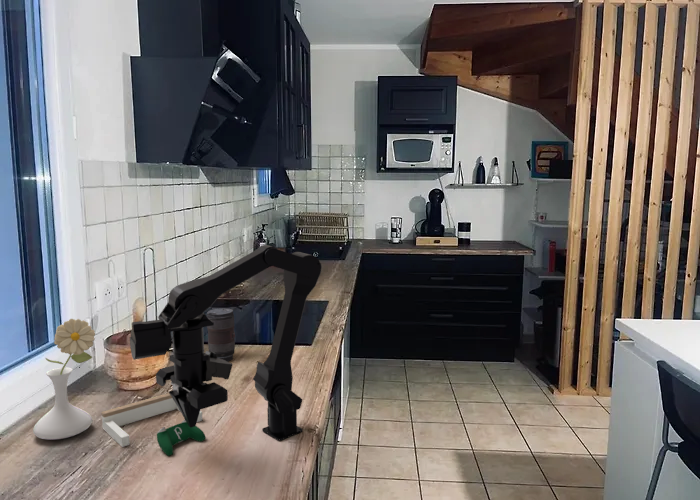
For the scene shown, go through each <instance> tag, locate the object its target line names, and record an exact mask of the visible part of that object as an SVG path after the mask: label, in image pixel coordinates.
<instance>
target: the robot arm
mask: <svg viewBox="0 0 700 500" xmlns="http://www.w3.org/2000/svg"><path fill="white" fill-rule="evenodd" d="M271 267H274V268H277V269H281V270H283V277H282V278H283V285H284V296H283V300H282V304H281V308H280V312H279V315H278V320H277V322H276V323H277V324H276V327H275V328H276V329H275V331H274V332H275V333H274V335H273V339H272V343H271V348H270V352H269V355H268V357H267V358H266V359H265V360H264V361H263V362H260V361H257V364H256V371H255V374H254V377H253V378H252V381H254V388H255V390H256V391H257V393H258V394H260V395H261V397H262V398H263V399H264V400H265V402H266V401H267V408H266V409H267V426H265V427H263V428H262V430H261V432H263V433H265V434H267V435H268V436H270V437H272V438H273V439H275V440H277V441H283V440H285V439H287V438H290V437H292V436H296V435H297V434H300V433H302V432H303V431H304V430H303V428H302V427H300V426H298V423H297V421H298V418H297V417H298V414H297V410H300V409H301V407H302V403H303V399H302V398H301V397H300V396H299V395H298V394H296V393H295V392H294V391H293V390H292V389H293V379H294V378H293V369H292V358H293V353H294V351H295V345H296V342H297V339H298V338H297V337H298V334H299V330H300V325H301V323H302V318H303V315H304V314H303V313H304V310H305V306H306V302H307V298H308V296H309V295H310V294H311V292H312V291H313V290H314V289H315V287H316V286H317V283H318V281H319V278H320V276H321V273H322V269H323V268H322V263H321V262H320V259H318V257H317V256H315V255H312V254H309V253H304V252H301V251H295V252H292V253H290V252H286V251H284V250H280V249H279V248H276V247H274V246H272V245H267V244H263V245H262V244H261V246H259V247H258V248H257V249H255V250H253V251H251V252H250V253H249V254H246V255H244V256H243V257H241V258H239V259H237V260H235V261H233V262H231V263H230V264H228V265H226V266H225V267H223V268H221V269H219V270H217V271H215V272H213V273H212V274H210V275H208V276H205V277H201V278H196V279H192V280H190V281H186V282H184V283H180V284H177V285H175V286H174V287H173V288H172V289H171V290H170V291H169V295H168V297H167V298H168V300H167V301H168V302H167V303H166V305H165V306H164V308H162V311H160V314H159V315H158V317H157V318H158V319H154V320H147V321H142V320H141V321H132V322H131V329H130V337H129V346H130V353H131V357H132V359H133V360H140V359H147V358H152V357H158V356H165V355H166V354H167V352H170V349H171V348H172V349H173V350H172V354H169V361H170V362H172V363H173V365H170V366H166V367H161V368H159V369H158V370H157V372H156V374H155V382H156V384H157V385H159V386H161V387H164V386H165V385H166V384H167V381H171V382H170V385H172V390H170V391H169V392H168V393H169V394H170V395H171V396H172V398H173V400H174V401H175V403H176V405H177V406H178V408H179V410H180V411H181V412H180V411H179V410H178V411H179V412H180V414H181V415H182V416H183V420H186V422H187V424H188V426H189V427H191V428H192V427H195V426H197V423H198V422H197V419H198V416H199V413H200V411H201V410H204V409H207V408H210V407H213V406H216V405H219V404H220V405H221V404H222V403H223V404H224V403H226V402H228V400H229V399H228V389H226V388H225V387H224V386H222V385H220V384H219V383H217V382H215V381H214V382H211V381H213V378H218V379H219V378H220V379H223V380H229V379H230V375H231V373H232V367H233V363H231V362H230V361H225V360H223V359H220V358H217V354H216V353H214V352H211V351H209V350H206V351H205V344H204V343H205V342H204V341H205V339H204V328H207V326H213V325H214V322H212V321H211V320H210V319H208V317H207V314H205V312H206V311H207V310H208V309H210V308H211V307H212V306H213V305H214V303H216V301H217V300H218V298H220V297H221V296H222V295H223V294H225V293H227V292H228V291H230V290H232V289H234V288H235V287H237V286H239V285H241V284H243V283H244V282H247V281H248V280H250V279H251V278H253V277H255V276H256V275H258V274H260V273H262V272H263V271H265V270H267V269H269V268H271ZM207 382H210V383H207Z"/></svg>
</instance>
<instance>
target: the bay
mask: <svg viewBox="0 0 700 500" xmlns="http://www.w3.org/2000/svg"><path fill="white" fill-rule="evenodd" d="M175 410H177V411H178V412H180V413H181V411H180V410H179V408H178V406H177V405H176V403H175V401H174V400H173V398H172V396H171V395H170V394H169V392H168V393H164V394H161V395H157V396H154V397H150V398H146V399H143V400H139V401H136V402H132V403H128V404H125V405H122V406H118V407H114V408H111V409H107V410H104V411H101V423H102V424H101V425H102V427H101V428H102V429H103V430H104V431H105V432H106V433H107V434H108V436H110V437H111V438H112V439H113V440H114V441H115V442H116V443H117V444H118V445H120V447H122V448H124V447H126V446H130V435H129V433H127V432H126V431H125V430H123V429H122V428H121V426H125V425H129V424H131V423H134V422H138V421H141V420H145V419H147V418H150V417H154V416H157V415H161V414H165V413H166V412H171V411H175ZM201 421H203V411H202V410H200V413H199V416H198V419H197V423H199V422H201Z"/></svg>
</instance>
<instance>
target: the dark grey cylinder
mask: <svg viewBox="0 0 700 500" xmlns="http://www.w3.org/2000/svg"><path fill="white" fill-rule="evenodd" d="M206 316H207V317H208V319H210V320H211V321H212V322H214V325H213V326H207V327H206V328H207V340H208V341H207V348H208V351H211V352H214V353H216V354H217V358H220V359H223V360H225V361H227V362H230V361H232V360H233V359H234V354H235V349H236V342H235V341H236V340H235V338H236V332H235V314H234V310H233V309H231V308H224V307H223V308H215V309H211V310H208V311H207V313H206Z"/></svg>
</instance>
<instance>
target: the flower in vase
mask: <svg viewBox="0 0 700 500" xmlns="http://www.w3.org/2000/svg"><path fill="white" fill-rule="evenodd" d="M95 335H96V332H95V329H92V325H89V322H88V321H86V320H85V319H84V320H81V319H80V318H77V319H75V318H70V319H68V320H66V321H63V324H60V325H58V326H57V327H56V330H55V334H54V342H53V344H54V345H56V347H57V349H60V352H61V353H62V354H63V353H65V354H68V358H67V359H66V360H65V362H62V361H59V360H58V361H57V360H52V359H48V358H47V357H45V360H46V361H47V362H49V363H55V364H60V365H62V367H58V368H57V367H56V368H53V369H50V370H48V371H47V372H45V375H46V376H47V377H48V378H49V379H50V380H51V383H52V385H53V388H54V397H55V402H54V405H53V407H52V408H51V409H50V410H49V411H48V412H47V413H45V414H44V415H43V416H42V417H41V418H39V420H38V421H36V423H35V425H34V427H33V429H32V432H33V434H34V436H36V437H37V438H39V439H42V440H63V439H67V438H70V437H74V436H76V435H78V434H81V433H82V432H85V431H86V430H87V429H88V428H89V427H90V426H91V425H92V423H93V418H92V416H91V414H90V413H88V412H87V411H86V410H84V409H81V408H80V407H77V406H75V405H73V404H72V403H70V402H69V398H68V381H69V378H70V375H71V373H72V372H73V370H74V369H73V368H72V367H67V364H68V363H69V361H70V360H73V361H74V362H75V363H77V364H82V363H85V362H86V361H89V360H91V359H93V356H92V355H91V354H89V353H88V352H86V351H88V350H89V349H90V348H92V347H93V346H94V341H95V339H96V338H95Z"/></svg>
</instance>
